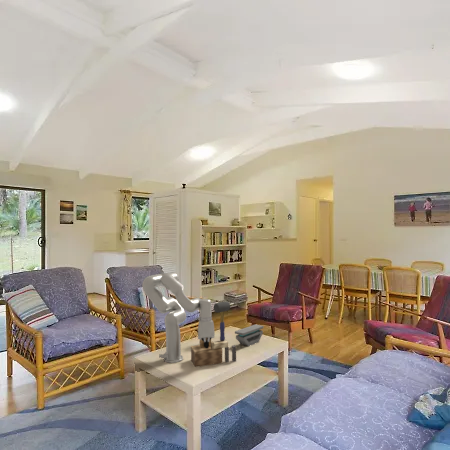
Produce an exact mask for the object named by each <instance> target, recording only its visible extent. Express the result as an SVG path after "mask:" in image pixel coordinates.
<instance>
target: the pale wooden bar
mask: <svg viewBox="0 0 450 450" xmlns="http://www.w3.org/2000/svg"><path fill="white" fill-rule="evenodd" d="M210 345H211V349H217V348H222V349H225V348H226V347H229V342H228V341H227V340H224V341H218V342H216V341H215V342H214V341H212V340H211V342H210Z"/></svg>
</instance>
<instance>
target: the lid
mask: <svg viewBox="0 0 450 450" xmlns="http://www.w3.org/2000/svg"><path fill="white" fill-rule="evenodd" d="M205 339H206V340H207V338H205ZM210 342H212V339H211V340H210V341H209V346H208V348H205V347H204V341H203V340H200V339H199V344H198V345H191V346H190V350H191V349H192V350H193V352H194V353H195V354H199V353H208V352H216V351H222V352H223V348H217V349H211V345H210Z"/></svg>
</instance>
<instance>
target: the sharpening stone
mask: <svg viewBox="0 0 450 450" xmlns="http://www.w3.org/2000/svg"><path fill="white" fill-rule="evenodd" d="M262 329H265V328H264V325H259V324H252V325H250V326H247V327H244V328H241V329H238V330H235V331H234V334H235V339H236V341H238V343H239V344H241V345H243V346H246V347H250V345H251V346H253V345H255V343H256V344H258V343H259V342H260V340H261V338H262V336H263V334H264V331H263V330H262Z"/></svg>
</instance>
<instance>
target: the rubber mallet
mask: <svg viewBox="0 0 450 450" xmlns="http://www.w3.org/2000/svg"><path fill="white" fill-rule="evenodd" d="M230 309H231V303H230V302H229V301H220V302H217V303H214V305H213V311H214V312H215V313H220V322H219V331H220V332H219V334H220V336H219V340H220V342H223V341H226V337H225V329H226V328H225V327H226V326H225V315H224V312H227V311H229V310H230Z"/></svg>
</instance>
